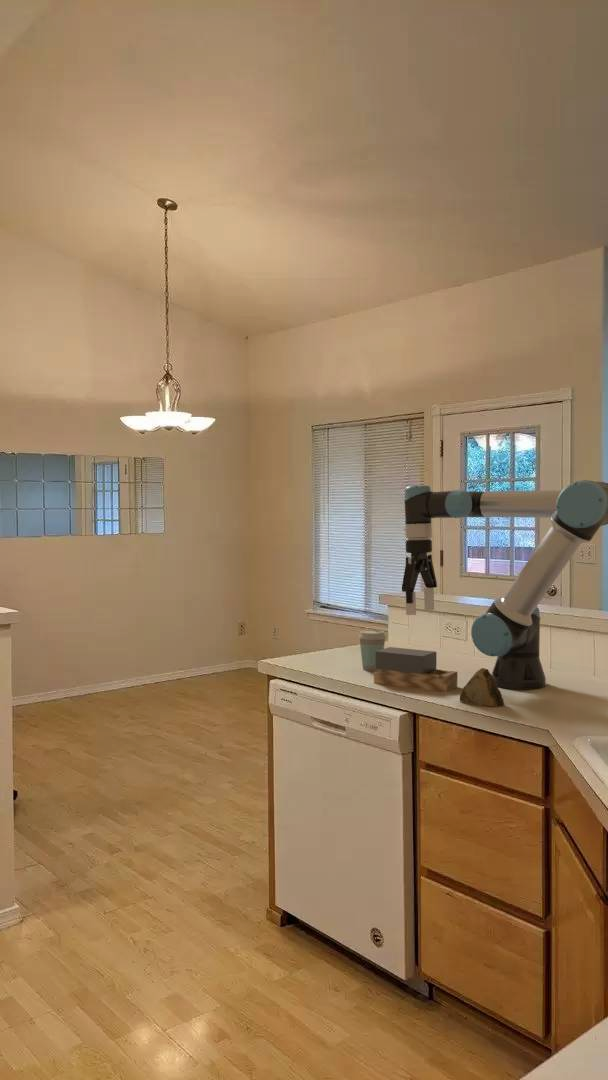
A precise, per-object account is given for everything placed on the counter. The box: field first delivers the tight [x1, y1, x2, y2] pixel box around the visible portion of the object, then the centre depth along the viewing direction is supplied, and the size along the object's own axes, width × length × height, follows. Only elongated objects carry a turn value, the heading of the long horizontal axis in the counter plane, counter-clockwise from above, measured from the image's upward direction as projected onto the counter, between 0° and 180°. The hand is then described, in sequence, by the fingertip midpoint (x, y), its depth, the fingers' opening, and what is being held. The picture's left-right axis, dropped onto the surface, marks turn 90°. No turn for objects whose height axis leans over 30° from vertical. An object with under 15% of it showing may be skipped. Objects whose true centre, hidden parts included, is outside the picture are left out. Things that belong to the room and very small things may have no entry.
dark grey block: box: [376, 646, 437, 674], centre depth 245 cm, size 15×9×8 cm, turn 56°
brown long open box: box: [373, 668, 458, 693], centre depth 244 cm, size 22×8×4 cm, turn 56°
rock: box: [459, 667, 506, 708], centre depth 221 cm, size 11×9×10 cm
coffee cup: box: [358, 629, 387, 672], centre depth 267 cm, size 8×8×12 cm
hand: (420, 612), depth 247 cm, fingers open, 13 cm apart
